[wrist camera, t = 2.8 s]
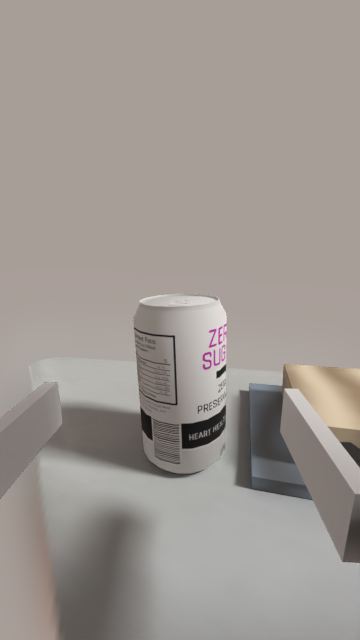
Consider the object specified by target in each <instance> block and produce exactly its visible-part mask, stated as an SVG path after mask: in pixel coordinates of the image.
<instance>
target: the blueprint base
mask: <svg viewBox="0 0 360 640" xmlns="http://www.w3.org/2000/svg"><path fill="white" fill-rule="evenodd" d="M284 388H287V389H299V391H300V392H301V393H302V394H303V396H304V397H305V398H306V400H307V401H308V402H309V403H310V405H311V406H312V407H313V409H314V410H315V411H316V412H317V414H318V415H319V416H320V417H321V419H322V420H323V421H324V423H325V424H326V425H327V426H328V428H329V429H330V430H331V432H332V433H333V434H334V435H335V437H336V438H337V439H338V441H339V442H351V443H352V444H354V445H355V446H357V447H358V448H359V449H360V369H352V368H336V367H320V366H319V367H318V366H304V365H303V366H302V365H289V364H284V371H283V385H282V386H277V385H265V384H253V383H249V403H250V445H251V487H252V489H256V490H262V491H267V492H273V493H279V494H284V495H290V496H295V497H301V498H306V499H312V497H311V495H310V493H309V491H308V489H307V487H306V485H305V483H304V481H303V478H302V476H301V474H300V472H299V470H298V468H297V466H296V464H295V462H294V460H293V458H292V456H291V453H290V451H289V449H288V447H287V445H286V443H285V441H284V439H283V437H282V435H281V433H280V426H281V415H282V405H283V394H284ZM312 500H313V499H312Z"/></svg>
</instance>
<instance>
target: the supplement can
mask: <svg viewBox="0 0 360 640" xmlns="http://www.w3.org/2000/svg"><path fill="white" fill-rule="evenodd" d="M226 324H227V315H226V313H225V311H224V309H223V307H222V305H221V303H220V299H219V298H218V297H216V296H212V295H205V294H169V295H159V296H152V297H148V298H144V299H142V300H140V305H139V307H138V309H137V312H136V314H135V316H134V332H135V344H136V357H137V371H138V383H139V396H140V409H141V422H142V434H143V447H144V452H145V454H146V455H147V457H148V459H149V460H150V461H151V462H152V463H154V464H155V465H157V466H158V467H159V468H161V469H164V470H165V471H169V472H173V473H176V474H192V473H195V472H199V471H202V470H205V469H206V468H208V467H210V466H211V465H212V464H214V463H215V462H216V461H218V460H219V459H220V457H221V456H222V454H223V452H224V450H225V431H226V326H227V325H226Z"/></svg>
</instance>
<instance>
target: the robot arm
mask: <svg viewBox="0 0 360 640" xmlns="http://www.w3.org/2000/svg"><path fill="white" fill-rule="evenodd" d="M62 424H63V421H62V413H61V405H60V397H59V389H58V382H45V383H43V384H42V385H41V386H40V387H38V388H37V389H36V390H35V391H33V392H32V393H31V394H30V395H28V396H27V397H26V398H25V399H24V400H22V401H21V402H20V403H18V404H17V405H16V406H15V407H13V408H12V409H11V410H10V411H8V412H7V413H6V414H5V415H3V416H2V417H1V418H0V498H1V497H2V496H3V495H4V494H5V493H6V491H7V490H8V489H9V488H10V487H11V485H12V484H13V483H14V482H15V480H16V479H17V478H18V477H19V476H20V474H21V473H22V472H23V471H24V469H25V468H26V467H27V466H28V465H29V463H30V462H31V461H32V460H33V459H34V458H35V456H36V455H37V454H38V453H39V451H40V450H41V449H42V448H43V447H44V445H45V444H46V443H47V442H48V441H49V439H50V438H51V437H52V436H53V435H54V433H55V432H56V431H57V430H58V428H59V427H60V426H61V425H62ZM280 433H281V435H282V437H283V439H284V441H285V443H286V445H287V447H288V449H289V451H290V453H291V456H292V458H293V460H294V462H295V464H296V466H297V468H298V470H299V472H300V474H301V476H302V478H303V481H304V483H305V485H306V487H307V489H308V491H309V493H310V495H311V497H312V499H313V501H314V503H315V506H316V508H317V510H318V512H319V514H320V516H321V518H322V520H323V522H324V524H325V526H326V528H327V531H328V533H329V535H330V537H331V539H332V541H333V543H334V545H335V547H336V549H337V551H338V553H339V556H340V558H341V560H342V562H353V563H360V449H359V448H358V447H357V446H355V445H354V444H352V443H351V442H339V441H338V439H337V438H336V437H335V435H334V434H333V433H332V432H331V430H330V429H329V428H328V426H327V425H326V424H325V423H324V421H323V420H322V419H321V417H320V416H319V415H318V414H317V412H316V411H315V410H314V409H313V407H312V406H311V405H310V403H309V402H308V401H307V400H306V398H305V397H304V396H303V394H302V393H301V392H300V391H299V389H287V388H284V394H283V405H282V415H281V426H280Z"/></svg>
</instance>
